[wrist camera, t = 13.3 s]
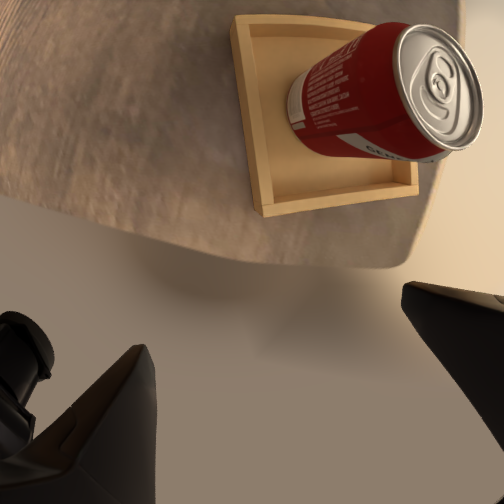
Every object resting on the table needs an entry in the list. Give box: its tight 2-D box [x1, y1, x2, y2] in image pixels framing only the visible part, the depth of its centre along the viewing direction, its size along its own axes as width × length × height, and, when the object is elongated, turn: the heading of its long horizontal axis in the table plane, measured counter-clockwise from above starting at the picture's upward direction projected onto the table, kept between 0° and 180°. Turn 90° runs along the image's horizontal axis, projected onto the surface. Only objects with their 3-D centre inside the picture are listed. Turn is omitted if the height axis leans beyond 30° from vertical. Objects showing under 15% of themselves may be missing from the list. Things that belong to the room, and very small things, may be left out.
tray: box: [229, 14, 419, 218], centre depth 18 cm, size 14×13×3 cm
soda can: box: [286, 22, 484, 163], centre depth 14 cm, size 7×7×12 cm
